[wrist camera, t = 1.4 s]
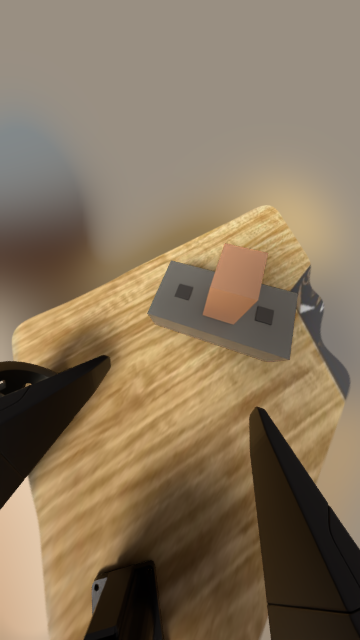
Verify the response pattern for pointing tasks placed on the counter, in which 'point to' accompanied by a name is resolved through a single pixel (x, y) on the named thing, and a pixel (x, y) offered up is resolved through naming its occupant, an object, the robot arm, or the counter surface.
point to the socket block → (244, 336)
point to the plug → (235, 283)
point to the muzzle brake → (20, 375)
